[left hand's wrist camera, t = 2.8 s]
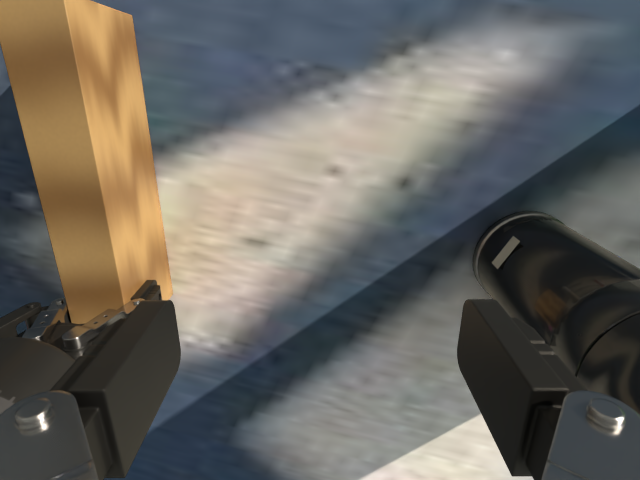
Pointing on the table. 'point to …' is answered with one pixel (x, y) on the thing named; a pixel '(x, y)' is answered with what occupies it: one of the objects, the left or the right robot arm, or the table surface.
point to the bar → (87, 147)
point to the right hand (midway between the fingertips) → (125, 289)
